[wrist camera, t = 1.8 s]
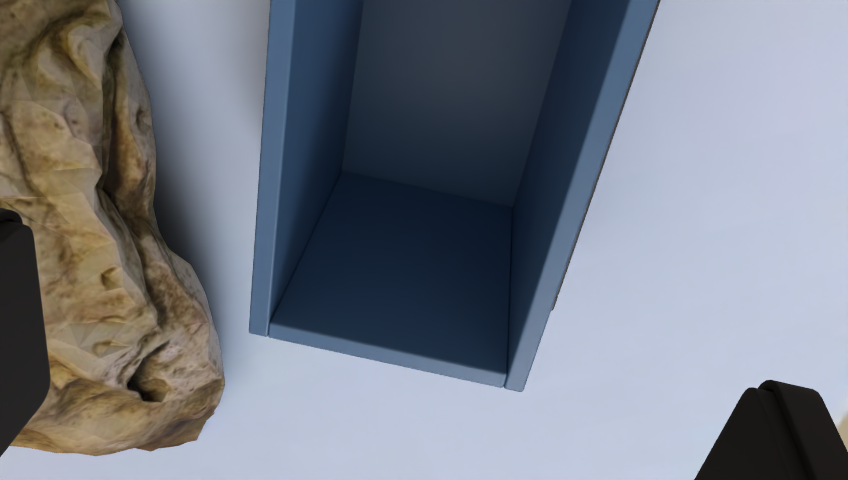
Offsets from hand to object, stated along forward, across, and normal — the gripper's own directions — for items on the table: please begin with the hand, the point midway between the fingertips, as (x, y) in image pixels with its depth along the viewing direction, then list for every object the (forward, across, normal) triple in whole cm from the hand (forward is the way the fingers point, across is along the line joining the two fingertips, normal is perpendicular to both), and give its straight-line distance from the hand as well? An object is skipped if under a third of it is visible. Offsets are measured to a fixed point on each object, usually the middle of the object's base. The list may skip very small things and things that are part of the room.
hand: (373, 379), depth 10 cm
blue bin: (+16, 0, 0) cm, 16 cm away
